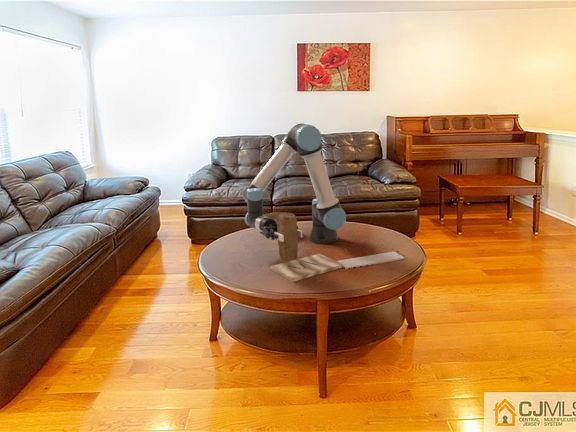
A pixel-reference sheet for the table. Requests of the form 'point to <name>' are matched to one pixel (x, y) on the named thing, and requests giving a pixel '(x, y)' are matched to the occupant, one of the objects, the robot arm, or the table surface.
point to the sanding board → (306, 267)
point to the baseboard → (371, 260)
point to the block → (288, 236)
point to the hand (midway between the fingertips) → (292, 236)
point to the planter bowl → (273, 216)
